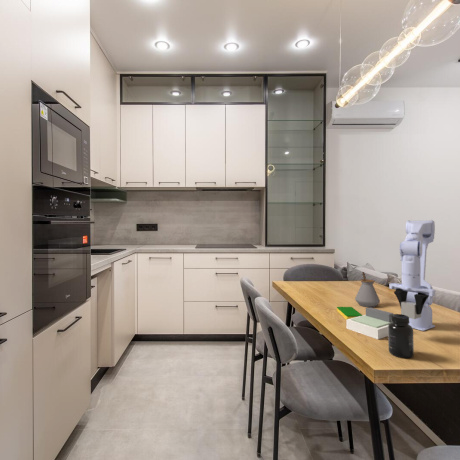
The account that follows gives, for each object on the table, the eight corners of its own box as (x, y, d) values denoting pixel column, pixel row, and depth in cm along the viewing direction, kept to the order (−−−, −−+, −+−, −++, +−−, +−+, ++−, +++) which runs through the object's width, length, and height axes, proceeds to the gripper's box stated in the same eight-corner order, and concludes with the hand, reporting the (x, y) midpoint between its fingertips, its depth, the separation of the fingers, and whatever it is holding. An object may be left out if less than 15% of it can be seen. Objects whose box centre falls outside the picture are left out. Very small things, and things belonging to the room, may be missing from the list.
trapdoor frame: (368, 322, 119) (368, 313, 119) (400, 331, 108) (399, 322, 108) (346, 328, 112) (346, 319, 112) (378, 339, 101) (378, 329, 100)
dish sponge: (346, 320, 122) (346, 315, 122) (336, 311, 136) (336, 306, 136) (363, 321, 122) (363, 315, 122) (351, 311, 136) (351, 306, 136)
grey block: (407, 313, 105) (407, 300, 104) (421, 317, 101) (420, 303, 101) (401, 315, 102) (401, 302, 102) (414, 319, 98) (414, 304, 98)
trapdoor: (369, 316, 117) (368, 307, 117) (394, 323, 108) (394, 313, 108) (351, 320, 111) (351, 311, 111) (377, 328, 102) (376, 318, 102)
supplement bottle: (404, 349, 92) (404, 312, 92) (418, 358, 86) (418, 319, 86) (383, 349, 92) (383, 312, 92) (396, 359, 85) (396, 319, 85)
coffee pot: (381, 309, 138) (381, 278, 138) (356, 307, 142) (356, 277, 142) (374, 298, 158) (374, 272, 158) (352, 297, 162) (352, 271, 162)
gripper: (384, 272, 106) (384, 308, 106) (428, 278, 93) (428, 319, 93) (395, 271, 109) (395, 306, 109) (438, 276, 97) (438, 315, 97)
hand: (411, 312), depth 101 cm, fingers closed on grey block, 4 cm apart
